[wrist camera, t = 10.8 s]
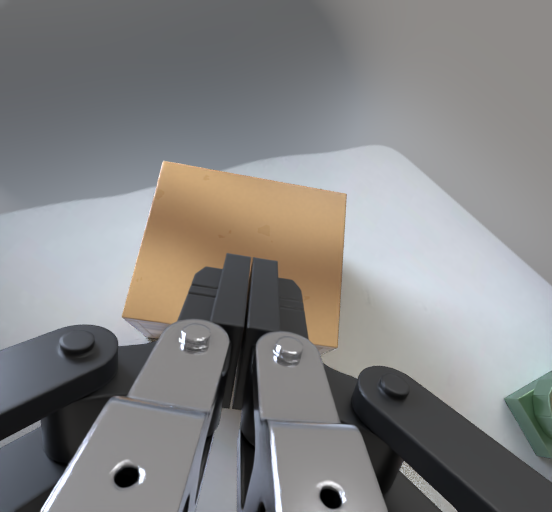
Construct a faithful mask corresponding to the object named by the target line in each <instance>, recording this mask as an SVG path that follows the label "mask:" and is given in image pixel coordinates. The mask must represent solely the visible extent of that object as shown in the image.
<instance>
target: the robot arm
mask: <svg viewBox="0 0 552 512" xmlns="http://www.w3.org/2000/svg"><path fill="white" fill-rule="evenodd" d="M250 264H251V257H249V256H243V255H236V254H230V253H227V254H226V258H225V262H224V266H223V269H220V268H213V267H207V266H206V267H204V268H203V269H201V270H200V271H198V272H197V273H195V275H194V278H193V281H192V283H191V286H190V288H189V291H188V294H187V296H186V299H185V301H184V304H183V307H182V309H181V312H180V315H179V317H178V320H177V322H175V323H172V324H171V325H169V326H168V327H166V328H165V329H164V331H163V332H162V334H161V336H160V338H159V339H158V340H157V341H154V342H151V343H147V344H141V345H130V346H118V340H117V338H116V336H115V335H114V334H113V333H112V332H111V331H109V330H108V329H105V328H103V327H100V326H95V325H73V326H68V327H64V328H61V329H58V330H55V331H52V332H49V333H47V334H44V335H41V336H38V337H36V338H33V339H30V340H27V341H25V342H22V343H19V344H17V345H14V346H11V347H8V348H6V349H3V350H0V441H1V440H3V439H5V438H7V437H8V436H10V435H12V434H14V433H16V432H18V431H20V430H22V429H24V428H26V427H27V426H29V425H31V424H33V423H35V422H37V421H39V420H41V427H39V428H37V429H35V430H33V431H31V432H30V433H28V434H26V435H24V436H22V437H20V438H18V439H17V440H15V441H13V442H11V443H9V444H7V445H5V446H3V447H2V448H0V512H196V508H197V504H198V500H199V496H200V492H201V488H202V484H203V479H204V475H205V471H206V467H207V463H208V459H209V455H210V451H211V447H212V443H213V439H214V433H215V430H216V428H217V427H218V425H219V421H220V415H221V409H222V408H228V409H229V408H230V402H231V397H232V391H233V385H234V380H235V374H236V380H235V389H234V398H233V406H232V409H238V410H242V413H241V423H240V428H239V433H238V439H237V512H442V511H441V510H440V509H439V508H438V507H437V506H436V505H435V504H434V503H433V502H432V501H431V500H430V499H428V498H427V497H426V496H425V495H424V494H423V493H422V492H421V491H420V490H419V489H418V488H417V487H416V486H415V485H414V484H413V483H412V482H411V481H410V480H409V479H408V478H407V477H406V476H404V475H403V474H402V473H401V472H400V471H399V470H400V468H401V465H402V463H403V461H405V462H406V463H407V464H408V465H409V466H411V467H412V468H413V469H414V470H415V471H416V472H417V473H418V474H419V475H420V476H421V477H422V478H423V479H425V480H426V481H427V482H428V483H429V484H430V485H431V486H432V487H433V488H434V489H435V490H436V491H437V492H439V493H440V494H441V495H442V496H443V497H444V498H445V499H446V500H447V501H448V502H449V503H450V504H452V505H453V507H454V508H455V509H456V510H457V511H458V512H552V483H551V482H550V481H549V480H547V479H546V478H545V477H543V476H542V475H541V474H539V473H538V472H537V471H535V470H534V469H533V468H531V467H530V466H529V465H527V464H526V463H525V462H523V461H522V460H521V459H519V458H518V457H517V456H515V455H514V454H513V453H511V452H510V451H509V450H507V449H506V448H505V447H503V446H502V445H501V444H499V443H498V442H497V441H495V440H494V439H493V438H491V437H490V436H488V435H487V434H486V433H484V432H483V431H482V430H480V429H479V428H478V427H476V426H475V425H474V424H472V423H471V422H470V421H468V420H467V419H466V418H464V417H463V416H462V415H460V414H459V413H458V412H456V411H455V410H454V409H452V408H451V407H450V406H448V405H447V404H446V403H444V402H443V401H442V400H440V399H439V398H438V397H436V396H435V395H434V394H432V393H431V392H430V391H428V390H427V389H426V388H424V387H423V386H421V385H420V384H419V383H417V382H416V381H415V380H413V379H412V378H411V377H409V376H408V375H406V374H404V373H402V372H400V371H398V370H396V369H393V368H389V367H385V366H372V367H368V368H366V369H364V370H363V371H362V372H361V373H360V375H359V377H358V379H357V378H354V377H352V376H349V375H346V374H344V373H341V372H338V371H336V370H334V369H332V368H330V367H328V366H327V365H325V364H324V363H323V362H322V359H321V355H320V353H319V350H318V349H317V347H316V346H315V345H314V344H313V343H312V342H311V341H309V337H308V331H307V324H306V318H305V311H304V305H303V298H302V291H301V289H300V288H299V287H298V285H297V284H296V283H295V282H294V281H293V280H291V279H284V278H278V261H274V260H268V259H262V258H256V257H253V260H252V266H251V271H250ZM249 273H250V277H249ZM236 369H237V371H236Z"/></svg>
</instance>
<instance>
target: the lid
mask: <svg viewBox="0 0 552 512" xmlns="http://www.w3.org/2000/svg"><path fill="white" fill-rule="evenodd" d="M346 197H347V194H345V193H339V192H334V191H328V190H322V189H317V188H311V187H306V186H300V185H295V184H289V183H283V182H278V181H272V180H267V179H261V178H256V177H250V176H245V175H239V174H233V173H228V172H222V171H217V170H211V169H205V168H200V167H195V166H189V165H183V164H178V163H172V162H166V161H163V163H162V167H161V171H160V174H159V178H158V182H157V186H156V190H155V193H154V197H153V201H152V205H151V208H150V212H149V216H148V220H147V223H146V227H145V231H144V235H143V238H142V242H141V246H140V250H139V254H138V257H137V261H136V265H135V269H134V272H133V276H132V280H131V284H130V287H129V291H128V295H127V299H126V303H125V306H124V310H123V314H122V318H123V319H125V320H132V321H139V322H146V323H153V324H160V325H167V326H169V325H171V324H172V323H175V322H177V320H178V317H179V315H180V312H181V309H182V307H183V304H184V301H185V299H186V296H187V294H188V291H189V288H190V286H191V283H192V281H193V278H194V275H195V273H197V272H198V271H200V270H201V269H203V268H204V267H206V266H207V267H213V268H220V269H223V266H224V262H225V258H226V254H227V253H230V254H236V255H243V256H249V257H251V264H250V271H251V266H252V260H253V257H256V258H262V259H268V260H274V261H278V278H284V279H291V280H293V281H294V282H295V283H296V284H297V285H298V287H299V288H300V289H301V291H302V298H303V305H304V311H305V318H306V324H307V331H308V337H309V341H311V342H312V343H313V344H314V345H315V346H316V347H323V348H330V349H336V348H337V347H338V333H339V316H340V299H341V282H342V265H343V248H344V231H345V214H346ZM249 277H250V273H249Z"/></svg>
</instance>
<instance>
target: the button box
mask: <svg viewBox="0 0 552 512" xmlns="http://www.w3.org/2000/svg"><path fill="white" fill-rule="evenodd" d="M504 400H505V401H506V403H507V405H508V407H509V408H510V410H511V412H512V414H513V415H514V417H515V419H516V421H517V422H518V424H519V426H520V428H521V429H522V431H523V433H524V435H525V436H526V438H527V440H528V442H529V443H530V445H531V447H532V449H533V450H534V452H535V454H536V455H537V456H541V457H546V458H551V459H552V371H550V372H549V373H547V374H545V375H543V376H542V377H540V378H538V379H537V380H535V381H533V382H531V383H530V384H528V385H526V386H525V387H523V388H521V389H519V390H518V391H516V392H514V393H513V394H511V395H509V396H507V397H506V398H504Z"/></svg>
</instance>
